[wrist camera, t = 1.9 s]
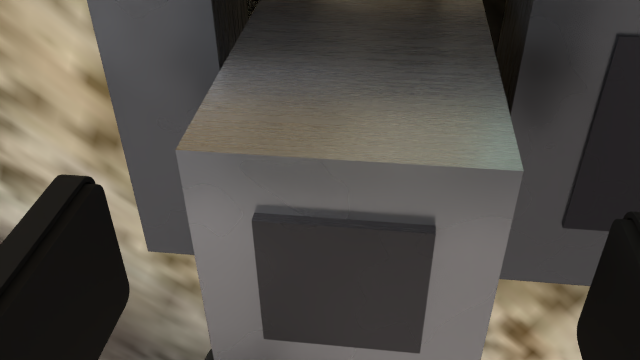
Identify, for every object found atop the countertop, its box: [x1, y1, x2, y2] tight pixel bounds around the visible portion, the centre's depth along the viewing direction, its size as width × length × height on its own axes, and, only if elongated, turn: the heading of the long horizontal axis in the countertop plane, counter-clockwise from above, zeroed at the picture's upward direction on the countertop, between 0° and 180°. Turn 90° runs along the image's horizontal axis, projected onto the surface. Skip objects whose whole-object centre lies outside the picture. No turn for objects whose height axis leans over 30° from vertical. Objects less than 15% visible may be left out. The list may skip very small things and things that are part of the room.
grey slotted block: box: [87, 0, 640, 286], centre depth 15 cm, size 9×20×3 cm, turn 91°
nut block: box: [175, 0, 524, 360], centre depth 13 cm, size 5×5×8 cm
